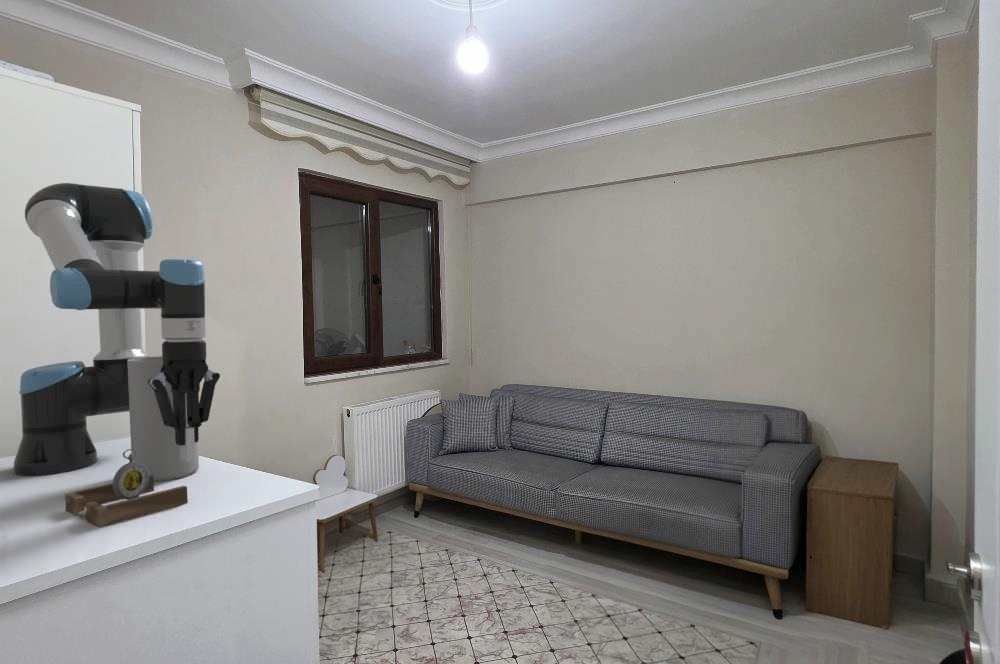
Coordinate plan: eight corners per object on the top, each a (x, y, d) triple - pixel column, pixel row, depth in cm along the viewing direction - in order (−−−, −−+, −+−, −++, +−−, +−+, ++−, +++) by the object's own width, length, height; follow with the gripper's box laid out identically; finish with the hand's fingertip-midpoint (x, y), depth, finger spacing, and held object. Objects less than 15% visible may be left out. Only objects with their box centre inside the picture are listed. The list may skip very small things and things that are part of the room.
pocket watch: (160, 509, 104) (158, 453, 103) (106, 514, 102) (104, 457, 101) (174, 495, 112) (172, 443, 111) (125, 499, 110) (123, 446, 109)
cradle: (65, 510, 104) (64, 493, 104) (150, 489, 115) (150, 474, 115) (99, 527, 95) (98, 509, 95) (187, 502, 107) (187, 486, 107)
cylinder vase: (118, 479, 123) (113, 360, 122) (171, 463, 134) (167, 355, 133) (160, 485, 118) (155, 361, 117) (212, 468, 130) (208, 356, 128)
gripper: (157, 343, 106) (161, 471, 107) (227, 338, 116) (230, 456, 118) (138, 341, 110) (143, 464, 111) (207, 337, 121) (210, 450, 122)
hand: (187, 460), depth 115 cm, fingers closed
